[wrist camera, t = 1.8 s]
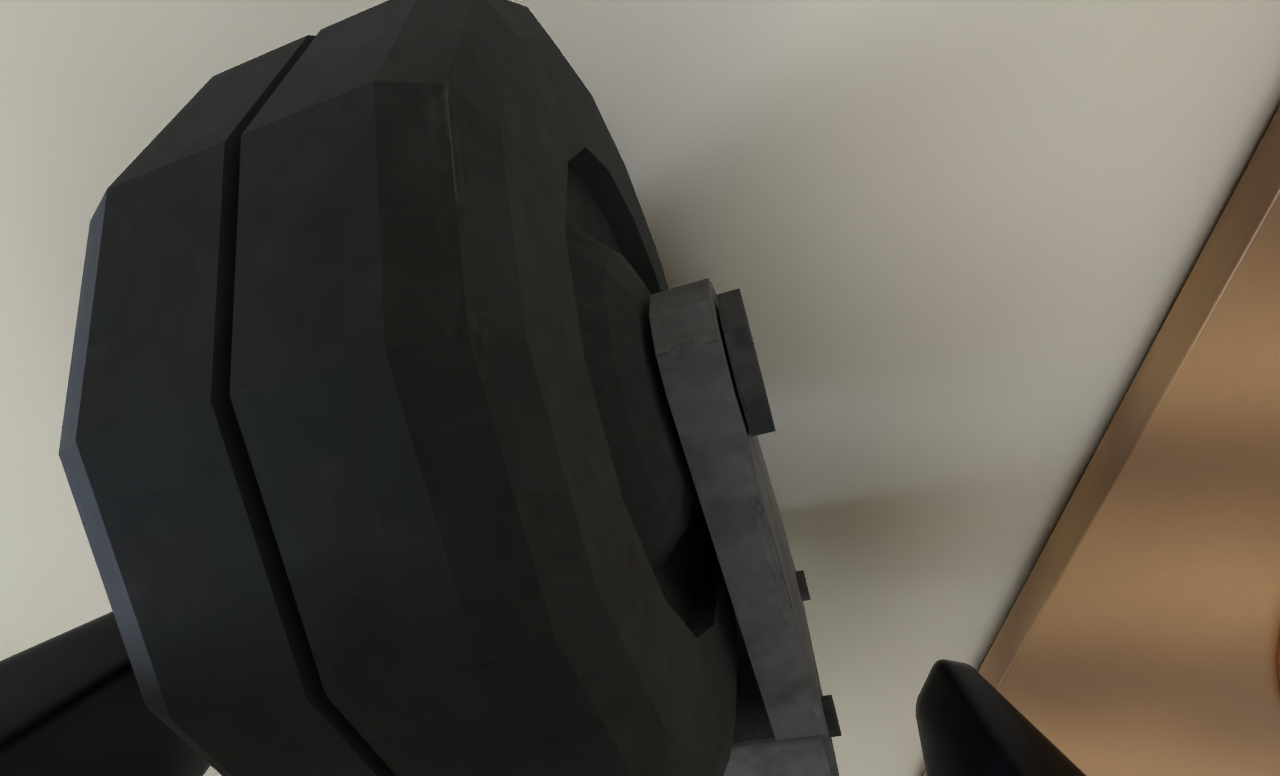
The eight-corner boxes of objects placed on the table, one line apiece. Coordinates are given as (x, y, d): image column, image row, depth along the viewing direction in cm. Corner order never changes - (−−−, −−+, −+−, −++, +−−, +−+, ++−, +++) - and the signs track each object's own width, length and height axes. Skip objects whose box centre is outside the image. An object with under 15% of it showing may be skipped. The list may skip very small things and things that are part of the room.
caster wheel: (408, 152, 12) (628, 729, 16) (-604, 11, 3) (506, 1456, 7) (680, 53, 11) (845, 701, 15) (470, -744, 2) (1054, 1531, 6)
